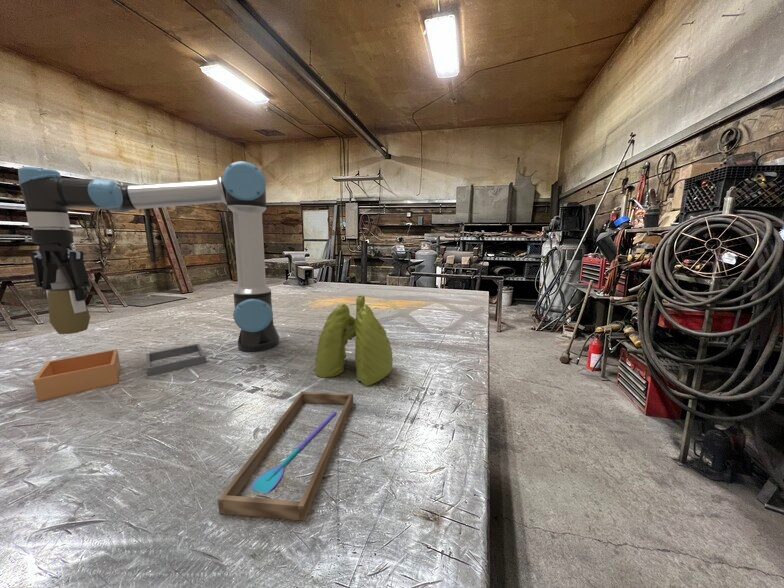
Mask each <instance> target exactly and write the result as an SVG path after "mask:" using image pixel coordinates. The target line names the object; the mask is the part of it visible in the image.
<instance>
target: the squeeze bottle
mask: <svg viewBox="0 0 784 588" xmlns="http://www.w3.org/2000/svg"><path fill="white" fill-rule="evenodd" d="M50 284H51V288H52V289H55V290H52V291H50V292H49V293H48V300H47V303H48V314H49V315H48V317H49V324H51V326H52V327H53V329H54V330H55V331H56V333H57V334H59V335H70V334H77V333H80V332H84V331H87V330H88V328H89V324H90V319H91V315H90V312H89V309H88V306H87V304H86V299H85V300H84V301H85V306H86V311H84V312H80V313H74V310H73V306H72V303H71V299H70V294H69V289H70V288H71V287H70V285H69V283H68V281H67V279H66V277H65V275H64V273H63V271H62V269H61V268H60V269H59V268H58V270H57V274H56V282H55V283H50Z"/></svg>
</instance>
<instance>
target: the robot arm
mask: <svg viewBox="0 0 784 588" xmlns="http://www.w3.org/2000/svg"><path fill="white" fill-rule="evenodd" d="M17 174H18V182H19V183H18V185H19V188H20V190H21V191H20V192H21V195H22V199H23V204H24V207H25V214H26V218H27V224H28V227H29V228H32V229H31V230H30V236H31V239H32V240H31V241H32V243H33V244H35V245H38V250H36V251H29V253H28V254H29V256H30V259H31V260H32V266H33V267H32V268H33V274H34V282H35V287H36V288H42V290H44V291H45V296H46V300H47V301H48V293H49V292H50V291H52V290H55V289H52V288H51V283H55V282H56V274H57V270H58V269H59V268H60V269H62V271H63V273H64V275H65V277H66V279H67V281H68V283H69V285H70V287H71V288H70V289H69V294H70V299H71V303H72V306H73V310H74V313H80V312H84V311H86V306H87V305H86V306H85V303H86V297H85V296H86V295H85V291H84V289H85V288H87V287H90V286H91V283H90V279H89V275H88V272H87V269H86V268H87V267H86V265H85V261H84V252H83V251H82V250H77V251H76V250H73V248H72V247H71V244H74V243H75V242H74V241H75V240H74V237H73V236H74V235H73V232H72V231H71V230H69V229H70V228H71V223H70V218H69V212H68V208H91V209H92V208H94V209H100V210H107V211H110V212H115V213H127V212H128V211H136V210H144V209H145V210H147V209H156V208H170V207H180V206H181V207H182V206H183V207H184V206H194V205H195V206H196V205H207V204H217V203H219V204H221V203H222V204H225V205H226V208H228V210H229V211H231V213H232V219H233V232H234V233H233V234H234V248H235V258H236V260H235V261H236V275H237V287H236V288H235V289H234V290H233V303H234V304H233V305H234V310H233V315H232V316H233V320H234V323H235V325H236V326H237V327H238V328H239V329H240V331H239V335H238V339H237V349H238V350H240V351H242V352H261V351H265V350H269V349H272V348H276V347H277V346H278V345H279V344H280V342H281V341H280V336H279V333H278V332H277V331H278V330H277V329H276V326H275V325H274V313H273V304H272V303H273V301H272V290H271V288H270V287H269V286H267V284H266V283H267V281H266V280H267V279H266V277H267V276H266V265H265V264H266V263H265V245H264V225H263V213H265V211H266V210H267V192H266V189H267V187H266V186H267V181H266V180H267V179H266V178H265V176H264V175H265V174H264V173H263V172H262V170H261V169H260V168H259V167H257V166H256V165H255V164H254V163H251V162H248V161H243V160H242V161H241V160H239V161H238V160H237V161H234V162H232V163H230V164H229V165H228V166H227V167H225V169H224V172H223V174H222V175H221V176H220V175H219V176H218V178H217V179H207V180H206V179H204V180H189V181H188V180H187V181H174V182H171V181H170V182H160V183H158V182H155V183H143V184H142V183H141V184H126V185H125V184H123V185H118V183H117V182H115V181H113V180H111V179H110V180H108V179H101V178H96V179H95V178H67V177H62V175H61V172H60V171H57V170H56V169H52V168H46V167H37V166H21V167H19V168H18V169H17ZM84 300H85V301H84Z"/></svg>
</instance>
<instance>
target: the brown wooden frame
mask: <svg viewBox="0 0 784 588" xmlns="http://www.w3.org/2000/svg"><path fill="white" fill-rule="evenodd" d="M305 403H308V404H309V403H310V404H313V403H314V404H328V405H330V404H331V405H344V406H343V408H342V411H341V412H340V414H339V417H338V418H337V421H336V423H335V426H334V427H333V430H332V432H331V434H330V436H329V439H328V440H327V443H326V445H325V447H324V448H323V452H322V454H321V456H320V458H319V460H318V462H317V464H316V467H315V469H314V471H313V473H312V476H311V478H310V480H309V482H308V483H307V486H306V488H305V491H304V492H303V494H302V497H301V499H300V500H288V499H275V498H265V497H264V498H262V497H251V496H250V497H249V496H240V492H241V491H242V490H243V488H244V487H245V485H246V484H247V483H248V481H249V480H250V478H251V477H252V475H253V474H254V473H255V471H257V468H259V465H260V464H261V463H262V461H263V460H264V459H265V458H266V456H268V455H267V454H268V453H270V451H271V449H272V448H273V446H274V445H275V444H276V442H277V440H278V439H279V438H280V436H281V435H282V434H283V433H284V431H285V429H286V428H287V426H288V425H289V424H290V423H291V421H292V420H293V418H294V417H295V415H296V414H297V413H298V411H299V410H300V408H302V406H303V405H304V404H305ZM353 405H354V394H353V393H337V392H336V393H335V392H313V391H310V392H309V391H300V393H299V394H298V395H297V397H296V398H295V400H294V401H293V402H292V403H291V404H290V406H289V407H288V408H287V409H286V411H285V412H284V414H283V415H282V416H281V417H280V418H279V420H278V421H277V422H276V423H275V425H274V426H273V427H272V429H271V430H270V432H269V433H268V434H267V435H266V436H265V438H264V439H263V441H261V442H260V444H259V445H258V447H257V448H256V449H255V450H254V451H253V453H252V454H251V455H250V457H249V458H248V460H247V461H246V462H245V463H244V464H243V466H241V468H240V470H239V471H238V472H237V473H236V475H235V476H234V477H233V479H232V480H231V481H230V483H229V484H228V485H227V486H226V488H225V489H224V490H223V491H222V493H221V494H220V495H219V497H218V498H217V505H218V513H219V514H226V515H236V516H237V515H239V516H248V517H249V516H250V517H260V518H270V519H271V518H272V519H282V520H292V521H294V520H295V521H305V520H306V518H307V516H308V512H309V511H310V508H311V506H312V503H313V501H314V499H315V497H316V494H317V492H318V490H319V487H320V484H321V482H322V479H323V477H324V474H325V472H326V469H327V468H328V464H329V463H330V461H331V458H332V456H333V453H334V450H335V448H336V446H337V443H338V441H339V438H340V436H341V434H342V431H343V429H344V427H345V425H346V421H347V420H348V416H349V414H350V412H351V409H352V407H353ZM238 495H239V496H238Z"/></svg>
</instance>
